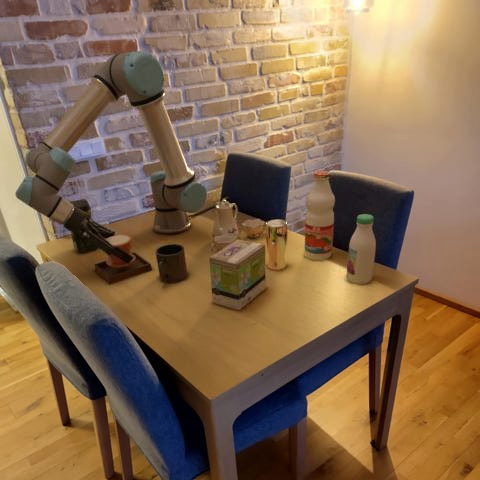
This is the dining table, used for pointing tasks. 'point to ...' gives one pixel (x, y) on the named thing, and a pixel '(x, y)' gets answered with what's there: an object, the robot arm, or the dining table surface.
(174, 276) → the mug
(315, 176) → the fruit juice
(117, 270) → the tray
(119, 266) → the filter
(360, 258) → the milk bottle
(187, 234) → the dining table surface
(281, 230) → the beer glass
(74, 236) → the coffee jar
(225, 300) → the tea box
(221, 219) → the chinaware
